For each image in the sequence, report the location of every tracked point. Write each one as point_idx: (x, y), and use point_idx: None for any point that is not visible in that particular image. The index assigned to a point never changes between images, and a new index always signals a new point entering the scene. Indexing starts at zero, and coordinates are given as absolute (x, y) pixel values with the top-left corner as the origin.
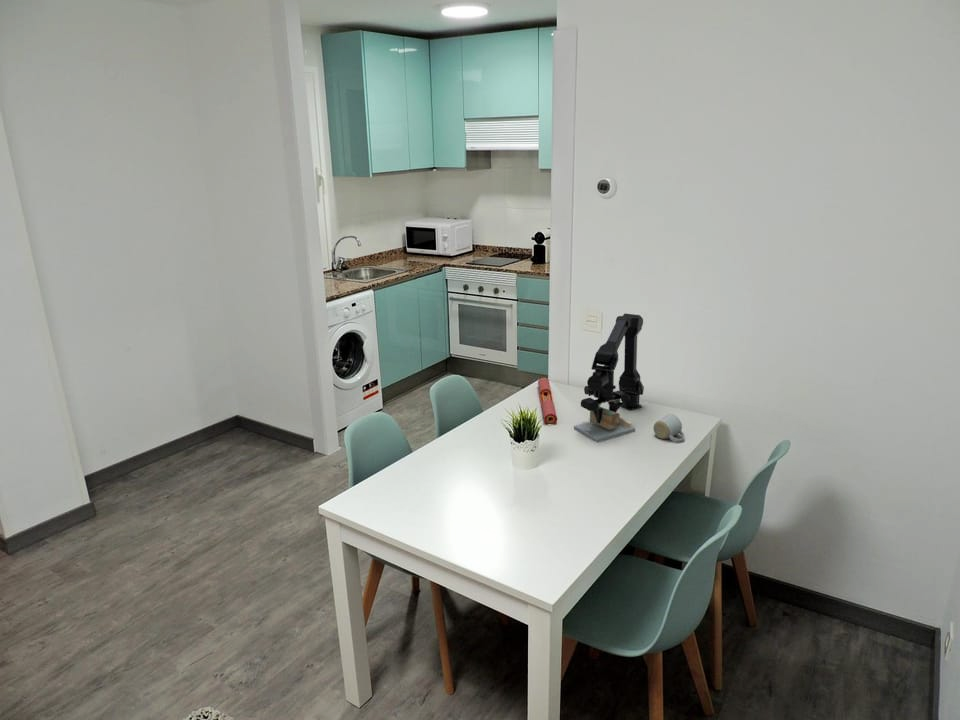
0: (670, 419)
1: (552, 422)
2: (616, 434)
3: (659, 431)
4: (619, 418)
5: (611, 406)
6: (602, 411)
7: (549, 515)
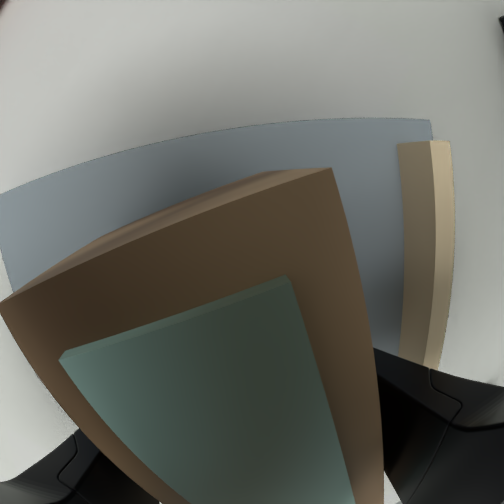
0: None
1: None
2: None
3: None
4: (433, 313)
5: (438, 473)
6: (213, 494)
7: None
